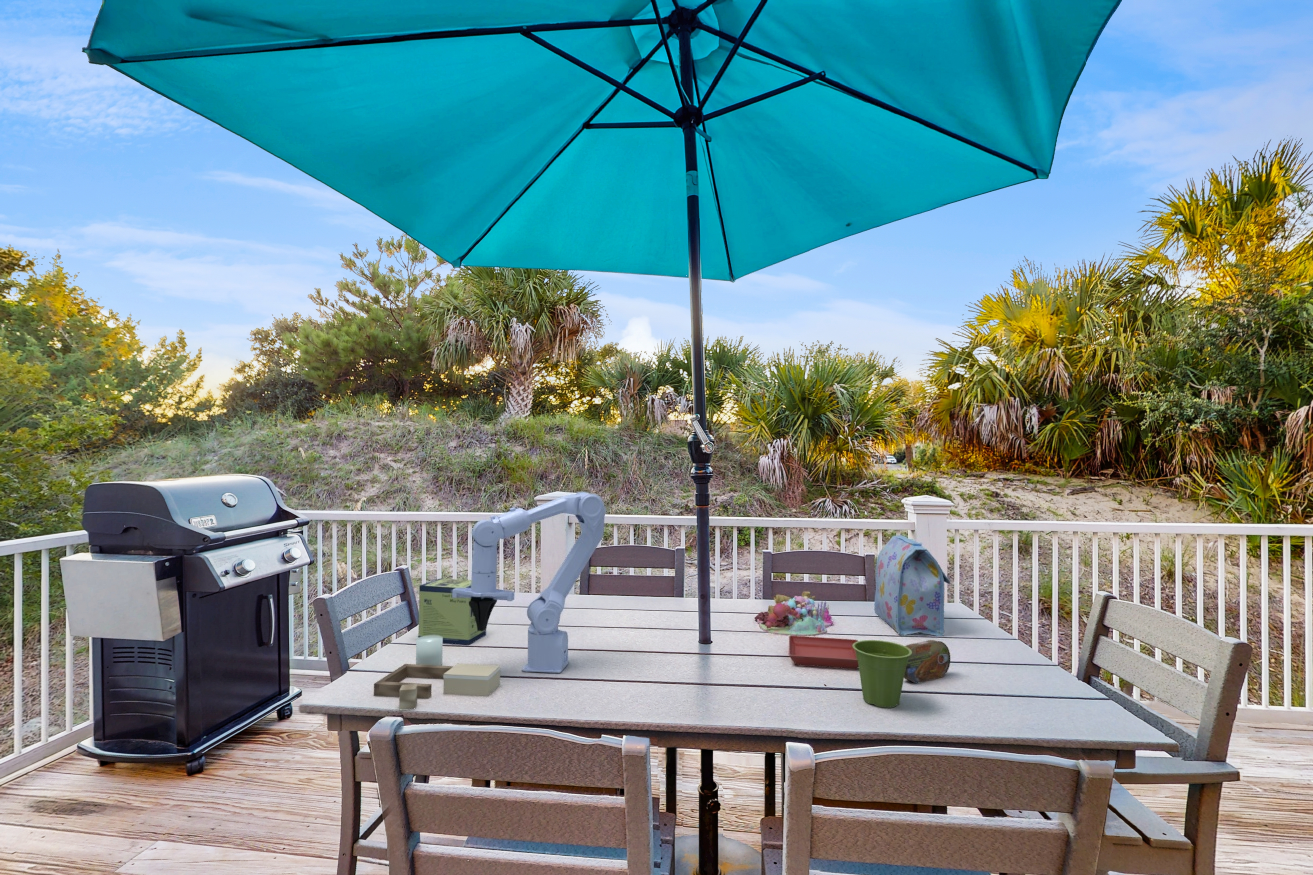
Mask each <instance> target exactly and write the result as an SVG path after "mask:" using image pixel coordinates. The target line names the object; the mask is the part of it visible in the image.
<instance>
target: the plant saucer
mask: <svg viewBox="0 0 1313 875" xmlns="http://www.w3.org/2000/svg"><path fill="white" fill-rule="evenodd" d="M858 641H859V640H858V639H851V638H835V637H821V636H820V637H819V636H790V635H788V655H789V657H790V659H791V660H792V662H794V664H795V665H796V666H805V667H819V668H832V669H833V668H834V669H845V670H846V669H848V670H857V669H859V665H858V660H857V658H856V652H855V649H854V648H853V646H852V645H853V644H854V643H855V642H858Z"/></svg>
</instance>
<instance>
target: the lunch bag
mask: <svg viewBox="0 0 1313 875" xmlns="http://www.w3.org/2000/svg"><path fill="white" fill-rule="evenodd" d="M875 565H876V568H875V569H876V571H875V572H876V574H875V576H876V581H875V592H874V593H875V594H874V605H873V606H874V609H873V610H874V614H875V615H876V616H878V617H879V618H880V619H882V620H883V621H884V622H885V623H886V624H888V625H889V627H891V628H893V629H894V631H896V633H897V634H898V635H903V636H907V635H911V634H917V633H918V634H922V635H923V634H924V635H931V636H932V635H933V636H936V637H943V636H944V635H945V634H944V633H945V583H946V584H947V585H951V581H950V579H949V578H948V577H947V575H946V573H945V572H944V570H943V569H942V567H941V565H940V564H939V562H938V560H937V559H936V558H935V557H934V556H933V555H932V553H930V551H929V550H928V549H927V548H925V547H923V543H922V542H917V541H916V540H914V539H913V538H909V537H907V536H904V535H903V534H900V535H899V534H898V535H896V534H895V535H893V536H891V538H890V539H889V540H888V541H887V543H885V545H884V546H883V547H882V549H881V550H880V551H879V553H878V555H877V558H876V564H875Z"/></svg>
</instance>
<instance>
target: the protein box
mask: <svg viewBox="0 0 1313 875" xmlns="http://www.w3.org/2000/svg"><path fill="white" fill-rule="evenodd" d="M455 588H471V579H457V578H456V579H455V578H441V577H440V578H438V579H434V580H431V581H429V582H426V583H422V584H420V585H419V592H418V593H419V595H418V596H419V597H418V636H417V638H419V637H422V636H427V635H439V636H442V637H443V644H447V645H448V644H450V645H459V646H460V645H462V646H469V645H471V644H473V643H474V642H476V641H478V640H480V639H481V638H483V637H484V636H487V629H486V630H484V631H478V630H477V624H476V620H475V617H474V614H473V612H472V609H471V608H470V606H469V601H471V598H463V597H457V598H453V597H452V593H453V589H455Z"/></svg>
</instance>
